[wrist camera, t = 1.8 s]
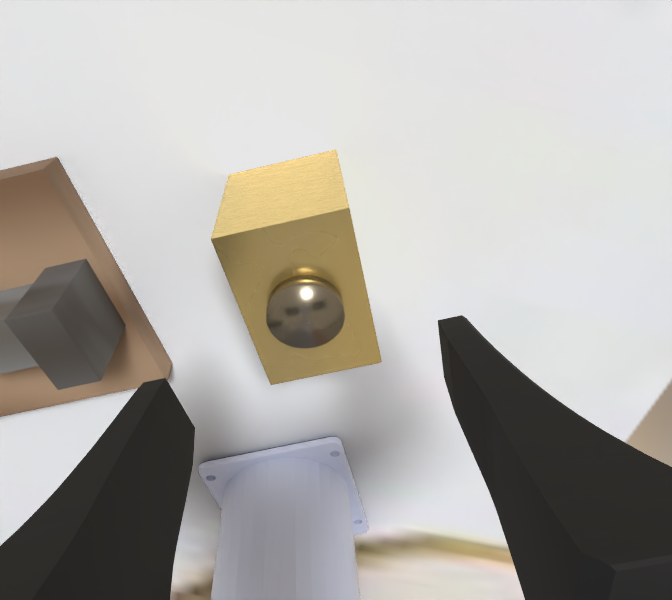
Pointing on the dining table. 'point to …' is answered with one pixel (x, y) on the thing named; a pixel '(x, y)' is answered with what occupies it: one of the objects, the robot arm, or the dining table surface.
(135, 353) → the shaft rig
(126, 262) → the dining table surface
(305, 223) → the block
